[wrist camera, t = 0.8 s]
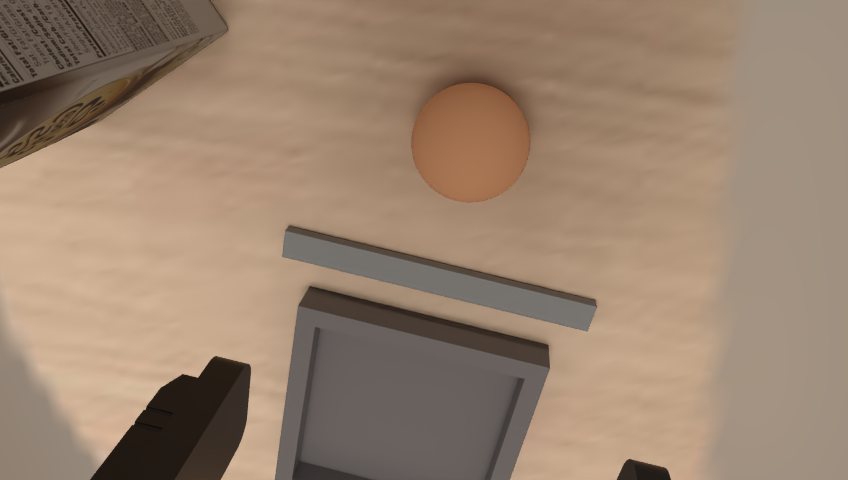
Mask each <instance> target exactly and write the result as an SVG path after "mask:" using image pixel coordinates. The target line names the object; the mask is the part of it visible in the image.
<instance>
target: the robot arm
mask: <svg viewBox="0 0 848 480" xmlns="http://www.w3.org/2000/svg"><path fill="white" fill-rule="evenodd" d="M250 376H251V367H250V365H249V364H246V363H242V362H238V361H234V360H230V359H226V358H221V357H217V356H215V357H213V358H212V359H211V360H210V362H209V363H208V365H207V366H206V367H205V369H204V370H203V372H202V373H201V375H200V376H199V377H198V378H196V377H192V376H188V375H184V374H182V375H181V376H179V377H177V378H176V379H174V380H173V381H171V382H169V383H168V384H166V385H165V386H163V387H161V388H160V390H159V391H158V392H157V394H156V395H155V396H154V397H153V399H152V400H151V401H150V403H149V404H148V405H147V408H146V410H143V412H142V413H141V414H140V416H139V417H138V418H137V419H136V421H135V424H134V425H132V426H131V427H130V429H129V430H128V431H127V432H126V434H125V435H124V436H123V438H122V439H121V440H120V442H119V443H118V444H117V445H116V447H115V448H114V449H113V451H112V452H111V453H110V455H109V456H108V457H107V458H106V460H105V461H104V462H103V464H102V465H101V466H100V468H99V469H98V470H97V471H96V473H95V474H94V475H93V477H92V478H91V479H90V480H221V478H222V476H223V474H224V472H225V471H226V469H227V467H228V465H229V463H230V461H231V459H232V458H233V456H234V454H235V452H236V450H237V448H238V446H239V444H240V442H241V439H242V436H243V433H244V430H245V426H246V421H247V411H248V400H249V388H250ZM617 480H671V479H670V475H669V472H668V470H667V469H666V468H664V467H660V466H656V465H652V464H648V463H644V462H640V461H636V460H631V459H628V460H627V461H626V462H625V463H624V465H623V467H622V469H621V472H620V474H619V476H618V478H617Z"/></svg>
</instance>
